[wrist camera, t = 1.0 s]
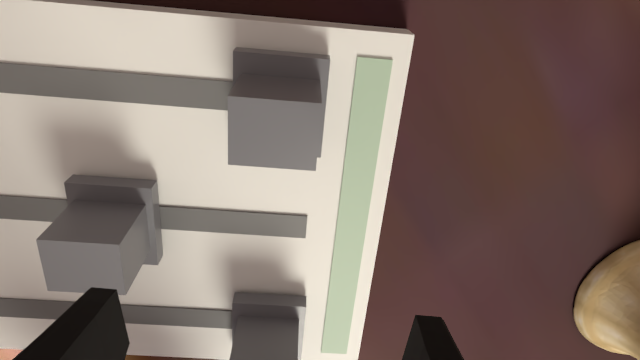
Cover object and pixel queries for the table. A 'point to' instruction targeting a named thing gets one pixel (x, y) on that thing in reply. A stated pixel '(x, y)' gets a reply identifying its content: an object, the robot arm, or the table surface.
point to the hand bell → (612, 302)
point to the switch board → (193, 167)
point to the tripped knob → (102, 234)
